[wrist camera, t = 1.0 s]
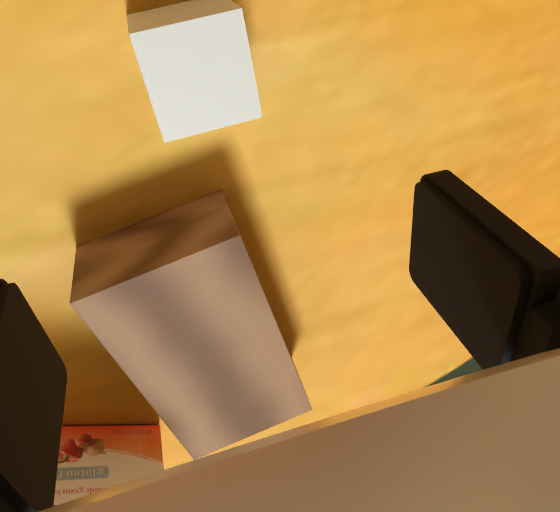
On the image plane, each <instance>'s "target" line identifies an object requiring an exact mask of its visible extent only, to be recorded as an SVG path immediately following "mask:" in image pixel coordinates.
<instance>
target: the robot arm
mask: <svg viewBox="0 0 560 512" xmlns="http://www.w3.org/2000/svg"><path fill="white" fill-rule="evenodd" d="M409 271H410V275H411V278H412V280H413V282H414V283H415V284H416V286H417V287H418V288H419V289H420V291H421V292H422V293H423V295H424V296H425V297H426V298H427V300H428V301H429V302H430V303H431V305H432V306H433V307H434V308H435V310H436V311H437V312H438V313H439V315H440V316H441V317H442V319H443V320H444V321H445V322H446V324H447V325H448V326H449V327H450V329H451V330H452V331H453V332H454V334H455V335H456V336H457V337H458V339H459V340H460V341H461V343H462V344H463V345H464V346H465V348H466V349H467V350H468V351H469V353H470V354H471V355H472V356H473V358H474V359H475V360H476V361H477V363H478V364H479V365H480V366H481V368H482V369H483V370H481V371H477V372H474V373H471V374H467V375H464V376H461V377H458V378H455V379H452V380H448V381H445V382H442V383H438V384H435V385H432V386H429V387H425V388H422V389H419V390H416V391H412V392H409V393H406V394H403V395H400V396H396V397H393V398H390V399H387V400H383V401H380V402H377V403H374V404H371V405H367V406H364V407H361V408H358V409H355V410H351V411H348V412H345V413H342V414H339V415H336V416H332V417H329V418H326V419H323V420H320V421H317V422H313V423H310V424H307V425H304V426H301V427H297V428H294V429H291V430H288V431H285V432H282V433H279V434H275V435H272V436H269V437H266V438H263V439H260V440H256V441H253V442H250V443H247V444H244V445H241V446H237V447H234V448H231V449H228V450H225V451H222V452H219V453H216V454H213V455H209V456H206V457H203V458H200V459H197V460H194V461H191V462H188V463H185V464H181V465H178V466H175V467H172V468H169V469H166V470H163V471H160V472H156V473H153V474H150V475H147V476H144V477H141V478H138V479H135V480H132V481H128V482H125V483H122V484H119V485H116V486H113V487H110V488H107V489H104V490H101V491H98V492H95V493H92V494H89V495H86V496H83V497H80V498H77V499H74V500H71V501H68V502H65V503H63V504H60V505H57V506H54V496H55V487H56V477H57V468H58V459H59V449H60V440H61V430H62V421H63V412H64V402H65V393H66V383H67V372H66V368H65V365H64V363H63V361H62V359H61V358H60V356H59V354H58V353H57V351H56V349H55V348H54V346H53V344H52V343H51V341H50V339H49V338H48V336H47V334H46V333H45V331H44V329H43V328H42V326H41V324H40V323H39V321H38V319H37V318H36V316H35V314H34V313H33V311H32V309H31V307H30V306H29V304H28V302H27V301H26V299H25V297H24V296H23V294H22V292H21V291H20V289H19V287H18V286H17V285H16V284H15V283H9V284H8V283H7V282H6V281H5V280H3V279H0V512H560V258H559V257H558V256H556V255H555V254H554V253H552V252H551V251H550V250H549V249H547V248H546V247H545V246H544V245H542V244H541V243H540V242H539V241H537V240H536V239H535V238H534V237H532V236H531V235H530V234H529V233H527V232H526V231H525V230H523V229H522V228H521V227H520V226H518V225H517V224H516V223H515V222H513V221H512V220H511V219H510V218H508V217H507V216H506V215H505V214H503V213H502V212H501V211H499V210H498V209H497V208H496V207H494V206H493V205H492V204H491V203H489V202H488V201H487V200H486V199H484V198H483V197H482V196H481V195H479V194H478V193H477V192H475V191H474V190H473V189H472V188H470V187H469V186H468V185H467V184H465V183H464V182H463V181H462V180H460V179H459V178H458V177H457V176H455V175H454V174H453V173H452V172H450V171H448V170H442V171H438V172H434V173H430V174H426V175H424V176H422V178H421V180H420V182H418V183H417V184H416V185H415V191H414V205H413V220H412V234H411V249H410V263H409ZM53 506H54V507H53Z"/></svg>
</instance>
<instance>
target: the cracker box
mask: <svg viewBox="0 0 560 512" xmlns="http://www.w3.org/2000/svg"><path fill="white" fill-rule="evenodd" d="M163 470H164V467H163V458H162V445H161V433H160V425H116V426H62V430H61V440H60V449H59V459H58V468H57V477H56V487H55V496H54V506H57V505H60V504H63V503H65V502H68V501H71V500H74V499H77V498H80V497H83V496H86V495H89V494H92V493H95V492H98V491H101V490H104V489H107V488H110V487H113V486H116V485H119V484H122V483H125V482H128V481H132V480H135V479H138V478H141V477H144V476H147V475H150V474H153V473H156V472H160V471H163ZM54 506H53V507H54Z"/></svg>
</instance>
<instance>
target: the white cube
mask: <svg viewBox="0 0 560 512" xmlns="http://www.w3.org/2000/svg"><path fill="white" fill-rule="evenodd" d="M127 22H128V30H129V36H130V39H131V42H132V45H133V48H134V51H135V54H136V57H137V60H138V63H139V66H140V70H141V73H142V76H143V79H144V82H145V85H146V88H147V91H148V94H149V97H150V100H151V103H152V106H153V109H154V112H155V115H156V119H157V122H158V125H159V128H160V131H161V134H162V137H163V140H164V143H165V142H169V141H173V140H177V139H181V138H184V137H188V136H192V135H196V134H200V133H204V132H207V131H211V130H215V129H219V128H223V127H227V126H230V125H234V124H238V123H242V122H246V121H250V120H253V119H257V118H261V117H262V113H261V108H260V102H259V97H258V92H257V86H256V81H255V75H254V70H253V64H252V59H251V54H250V48H249V43H248V37H247V32H246V27H245V21H244V16H243V10H242V8H241V7H240V6H239V5H237V4H236V3H235V2H233V1H232V0H190V1H186V2H181V3H177V4H172V5H168V6H163V7H159V8H155V9H150V10H146V11H141V12H137V13H132V14H128V15H127Z"/></svg>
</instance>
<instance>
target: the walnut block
mask: <svg viewBox="0 0 560 512" xmlns="http://www.w3.org/2000/svg"><path fill="white" fill-rule="evenodd" d="M70 304H71V306H72V307H73V308H74V309H75V311H76V312H77V313H78V314H79V316H80V317H81V318H82V320H83V321H84V322H85V323H86V325H87V326H88V327H89V328H90V330H91V331H92V332H93V333H94V335H95V336H96V337H97V338H98V340H99V341H100V342H101V343H102V345H103V346H104V347H105V348H106V350H107V351H108V352H109V353H110V355H111V356H112V357H113V358H114V360H115V361H116V362H117V364H118V365H119V366H120V367H121V369H122V370H123V371H124V372H125V374H126V375H127V376H128V377H129V379H130V380H131V381H132V382H133V384H134V385H135V386H136V387H137V389H138V390H139V391H140V392H141V394H142V395H143V396H144V397H145V399H146V400H147V401H148V402H149V404H150V405H151V406H152V407H153V409H154V410H155V411H156V413H157V414H158V415H159V416H160V418H161V419H162V420H163V421H164V423H165V424H166V425H167V426H168V428H169V429H170V430H171V431H172V433H173V434H174V435H175V436H176V438H177V439H178V440H179V441H180V443H181V444H182V445H183V446H184V448H185V449H186V450H187V451H188V453H189V454H190V455H191V457H192V458H193V459H194V460H195V459H198V458H200V457H202V456H205V455H207V454H209V453H212V452H214V451H216V450H219V449H221V448H223V447H226V446H228V445H230V444H233V443H235V442H237V441H240V440H242V439H244V438H247V437H249V436H251V435H254V434H256V433H258V432H261V431H263V430H266V429H268V428H270V427H273V426H275V425H277V424H280V423H282V422H284V421H287V420H289V419H291V418H294V417H296V416H298V415H301V414H303V413H305V412H308V411H310V410H312V407H311V405H310V402H309V400H308V397H307V395H306V392H305V390H304V387H303V385H302V382H301V380H300V377H299V375H298V372H297V370H296V367H295V365H294V362H293V360H292V357H291V355H290V352H289V350H288V348H287V345H286V343H285V340H284V338H283V336H282V333H281V331H280V328H279V326H278V324H277V321H276V319H275V316H274V314H273V311H272V309H271V307H270V304H269V302H268V299H267V297H266V295H265V292H264V290H263V287H262V285H261V283H260V280H259V278H258V275H257V273H256V271H255V268H254V266H253V263H252V261H251V258H250V256H249V254H248V251H247V249H246V246H245V244H244V242H243V239H242V237H241V234H240V232H239V230H238V227H237V225H236V222H235V220H234V217H233V215H232V213H231V210H230V208H229V205H228V203H227V201H226V198H225V196H224V193H223V191H222V190H219V191H217V192H214V193H212V194H209V195H207V196H204V197H202V198H199V199H197V200H194V201H192V202H189V203H186V204H184V205H181V206H179V207H176V208H174V209H171V210H169V211H166V212H164V213H161V214H159V215H156V216H154V217H151V218H149V219H146V220H144V221H141V222H139V223H136V224H134V225H131V226H128V227H126V228H123V229H121V230H118V231H116V232H113V233H111V234H108V235H106V236H103V237H101V238H98V239H96V240H93V241H91V242H88V243H86V244H83V245H81V246H78V247H76V255H75V264H74V272H73V281H72V290H71V298H70Z"/></svg>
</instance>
